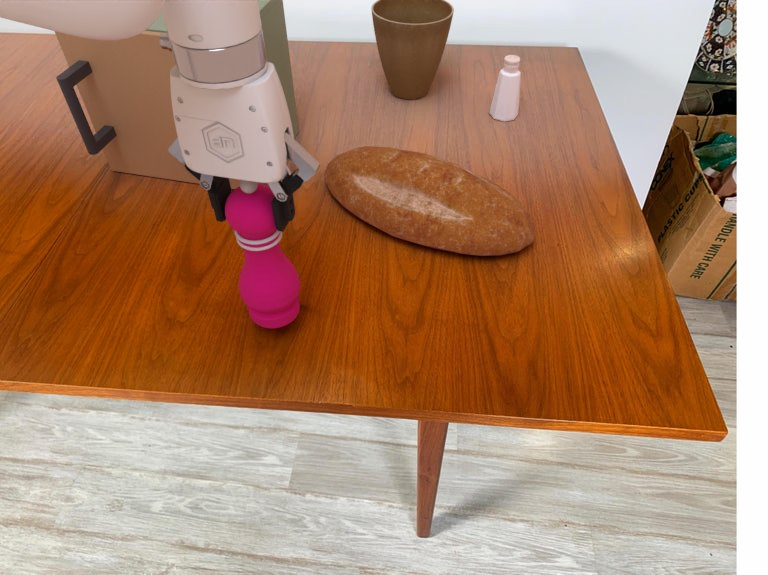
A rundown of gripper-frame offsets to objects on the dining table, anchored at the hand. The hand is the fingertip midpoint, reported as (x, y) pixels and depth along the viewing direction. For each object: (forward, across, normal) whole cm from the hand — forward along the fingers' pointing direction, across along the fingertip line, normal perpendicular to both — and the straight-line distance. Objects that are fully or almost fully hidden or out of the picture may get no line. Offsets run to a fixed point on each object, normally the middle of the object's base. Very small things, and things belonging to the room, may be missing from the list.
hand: (255, 217), depth 62 cm
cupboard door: (+17, -26, +22) cm, 38 cm away
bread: (+17, +14, +26) cm, 34 cm away
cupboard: (+17, -26, +35) cm, 47 cm away
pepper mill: (+15, 0, 0) cm, 15 cm away
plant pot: (+17, +4, +63) cm, 66 cm away
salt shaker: (+17, +23, +58) cm, 65 cm away
